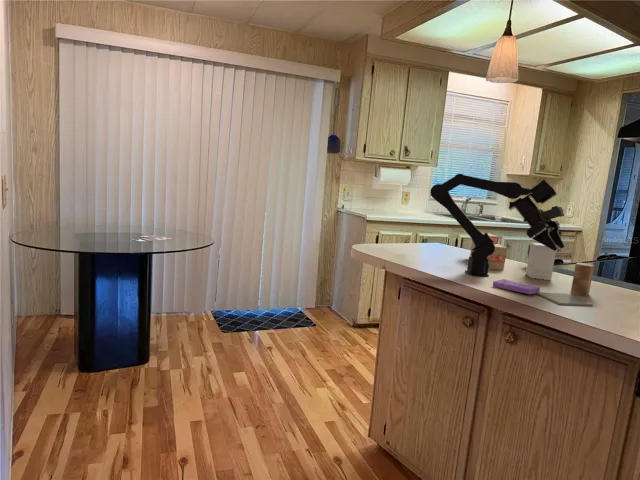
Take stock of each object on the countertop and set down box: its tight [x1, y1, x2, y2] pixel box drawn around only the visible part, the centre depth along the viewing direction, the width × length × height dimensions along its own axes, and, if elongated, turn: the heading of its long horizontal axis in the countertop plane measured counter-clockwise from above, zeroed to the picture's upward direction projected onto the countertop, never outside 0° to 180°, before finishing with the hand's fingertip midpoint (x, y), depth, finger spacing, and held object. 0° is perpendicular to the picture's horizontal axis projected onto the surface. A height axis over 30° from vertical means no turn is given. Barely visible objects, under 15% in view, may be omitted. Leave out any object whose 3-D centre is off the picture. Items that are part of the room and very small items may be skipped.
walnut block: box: [570, 262, 595, 298], centre depth 145 cm, size 4×4×10 cm
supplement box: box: [525, 242, 557, 281], centre depth 166 cm, size 7×7×13 cm
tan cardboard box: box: [469, 231, 508, 271], centre depth 185 cm, size 21×6×12 cm, turn 2°
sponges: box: [492, 278, 541, 295], centre depth 144 cm, size 7×13×2 cm, turn 39°
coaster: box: [535, 291, 594, 307], centre depth 136 cm, size 11×11×1 cm
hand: (559, 248), depth 149 cm, fingers open, 9 cm apart
